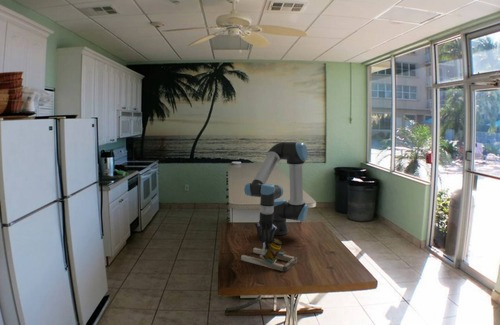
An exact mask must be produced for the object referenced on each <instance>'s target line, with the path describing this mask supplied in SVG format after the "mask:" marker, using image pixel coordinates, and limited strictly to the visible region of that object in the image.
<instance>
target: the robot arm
mask: <svg viewBox="0 0 500 325" xmlns="http://www.w3.org/2000/svg"><path fill="white" fill-rule="evenodd" d="M308 156H309V155H308V148H307V146H306V144H305V142H304V143H303V142H297V141H296V142H295V141H294V142H293V141H289V142H288V141H280V142H278V143H275V144H274V145H272V146H271V147H270V148H269V150H268V151H267V153H266V154H265V159H264V161H263V162H262V164H261V166H260V168H259V169H258V171H257V173H256V174H255V176H254V179H253V180H252V182H248V183H246V184H245V185H244V190H243V191H244V195H245V196H248V197H254V198H260V203H259V204H260V205H259V220H258V222H256V223H255V224H254V225H255V228H256V233H257V239H258V241H259V242H261V249H263V253H262V255H266V252H267V250H268V248H269V246H270V243H272V241H273V239H274V237H275V236H284V235H287V234H288V233H289V227H288V224H287V220H290V221H297V222H304V221H305V220H306V218H307V215H308V212H309V206H308V204H306V200H305V199H304V194H303V191H304V190H303V187H304V186H303V180H304V179H303V165H304V164H305V161H307V160H308ZM282 160H285V161H286V164H287V165H288V168H289V170H288V171H289V200H288V199H285V198H281V197H282V196H283V194H284V189H283V187H282V186H281V185H279V184H269V183H267V181H268V180H269V178H270V175H272V172H273V170H274V168H275V167H276V165H277V164H278V163H279V162H281V161H282Z"/></svg>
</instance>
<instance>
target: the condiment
mask: <svg viewBox="0 0 500 325" xmlns="http://www.w3.org/2000/svg"><path fill="white" fill-rule="evenodd" d="M282 245H283V243H282V241H281V240H280V239H278V238H273V240H272V242H271V243H269V247H268V249H267V252H266V255H261V254H259V257H260V259H262V260H266V259H268V260H272V261H274V263H277V261H278V259H277V258H276V257H277V255H278V253H279V252H281V251H280V250H281V247H282Z"/></svg>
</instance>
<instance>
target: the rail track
mask: <svg viewBox="0 0 500 325" xmlns="http://www.w3.org/2000/svg"><path fill="white" fill-rule="evenodd" d="M252 253H254V254H258V255H262V253H263V248H259V247H254V248H253V249H252ZM276 259H277V260H281V261H285V262H287V263H285V264H281V263H278V262H275V263H274V261H272V260H268V259H266V260H264V259H263V258H258V257H254V256H249V255H246V254H241V256H240V260H241V261H243V262H246V263H251V264H255V265H258V266H262V267H266V268H268V269H273V270H277V271H280V272H284V273H286V272H288V271H289V270H290V269H291V268H292V267H293V266H294V265H295V264H297V262H298V257H297V256H293V255H287V254H285V252H282V251H279V253H278V255H277V257H276Z"/></svg>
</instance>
